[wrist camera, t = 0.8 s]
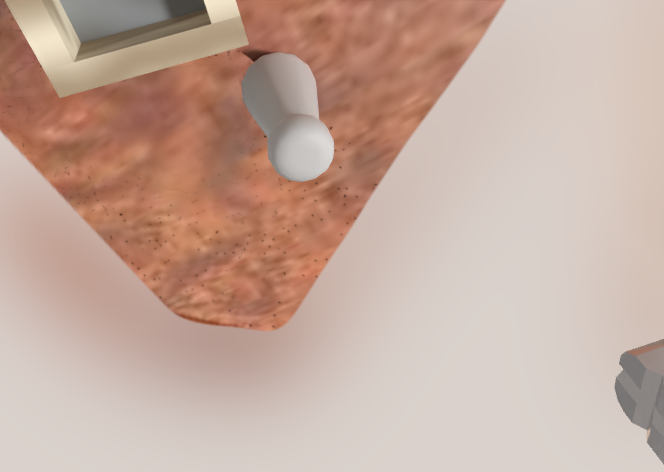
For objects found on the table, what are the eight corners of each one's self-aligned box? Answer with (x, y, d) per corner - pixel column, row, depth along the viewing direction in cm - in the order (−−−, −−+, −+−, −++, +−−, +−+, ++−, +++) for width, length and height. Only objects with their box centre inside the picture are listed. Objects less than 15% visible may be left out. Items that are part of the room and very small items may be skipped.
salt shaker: (249, 118, 46) (270, 206, 36) (229, 53, 43) (246, 131, 33) (316, 100, 47) (354, 183, 37) (302, 34, 43) (341, 105, 33)
